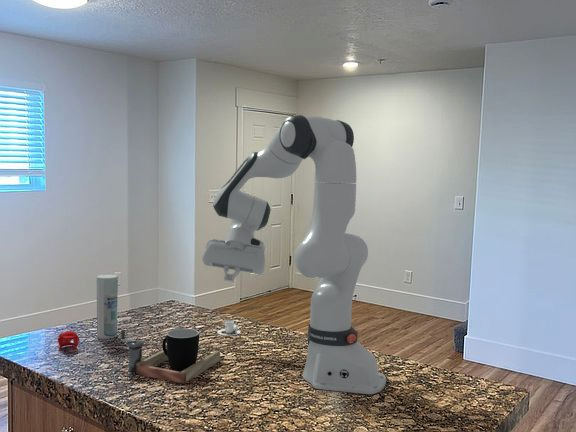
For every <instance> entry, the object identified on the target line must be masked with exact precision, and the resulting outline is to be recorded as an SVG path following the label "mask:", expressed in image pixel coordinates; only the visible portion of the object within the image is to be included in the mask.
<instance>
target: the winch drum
mask: <svg viewBox="0 0 576 432" xmlns="http://www.w3.org/2000/svg"><path fill="white" fill-rule="evenodd" d="M120 338H121V342H126V346H127V348H128V372H130V373H136V363H138V362H140V361H142V360H143V346H144V345H145V341H144V340H139V339H138V340H137V339H131V338H126V330H125V329H121V330H120Z"/></svg>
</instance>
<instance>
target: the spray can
mask: <svg viewBox="0 0 576 432" xmlns="http://www.w3.org/2000/svg"><path fill="white" fill-rule="evenodd" d="M118 280H119V278H118V275H117V274H99V275H97V276H96V336H97V339H100V340H110V338H111V339H115V338H116V337H118V292H119V291H118V288H119V287H118V285H119V284H118V282H119V281H118ZM114 337H115V338H114Z"/></svg>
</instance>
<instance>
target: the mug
mask: <svg viewBox="0 0 576 432" xmlns="http://www.w3.org/2000/svg"><path fill="white" fill-rule="evenodd" d="M199 343H200V332H199V331H198V330H197V329H194V328H188V327H187V328H175V329H170V330H168V331H167V332H166V336H165V337H164V338H163V340H162V346H161V347H162V350H163V351H164V353H165V355H166V356H167V357H168V360H167V362H168V366H169V368H170V370H173V371H178V372H181V371H183V370H185V369H186V368H188V367H190V366H192V365H193V364H195V363H197V362H198V361H197V360H198V355H199V347H200V344H199Z"/></svg>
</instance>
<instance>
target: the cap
mask: <svg viewBox="0 0 576 432" xmlns="http://www.w3.org/2000/svg"><path fill="white" fill-rule="evenodd" d="M71 341H73V342H71ZM57 343H58V344H57V345H58V346H59V347H58V349H59V350H61V349H62V348H63V347H67V346H68V347H69V346H72V347H71V349H72V350H75V349H76V348H78V346H79V343H80V337H79V336H78V334H77V333H76V332H75V331H72V330H67V331H64V332H60V333H59V335H58V337H57Z"/></svg>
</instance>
